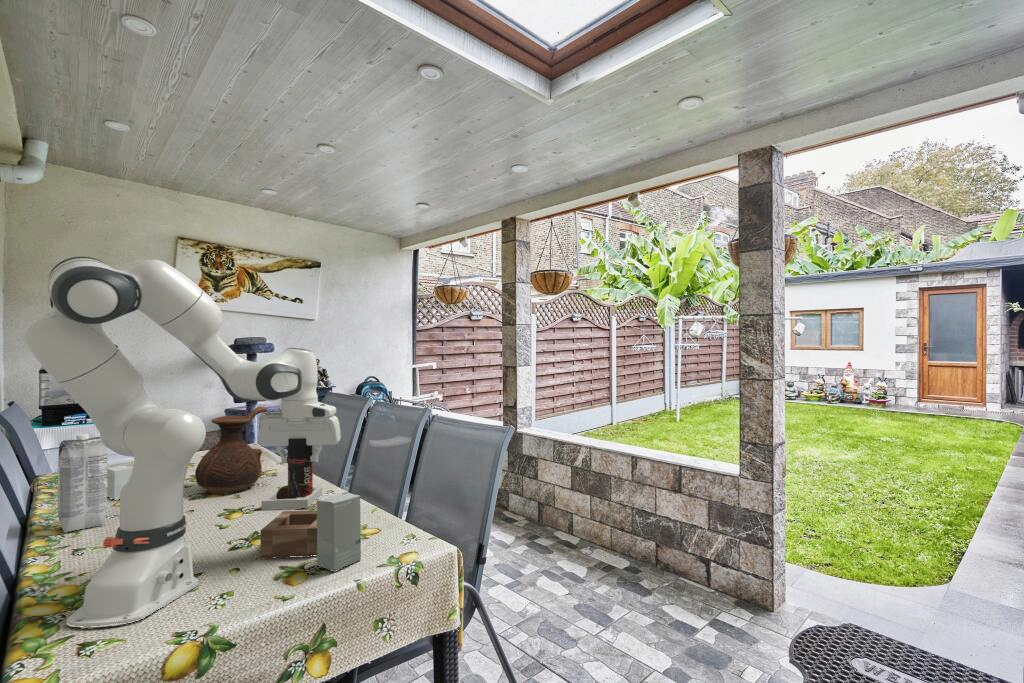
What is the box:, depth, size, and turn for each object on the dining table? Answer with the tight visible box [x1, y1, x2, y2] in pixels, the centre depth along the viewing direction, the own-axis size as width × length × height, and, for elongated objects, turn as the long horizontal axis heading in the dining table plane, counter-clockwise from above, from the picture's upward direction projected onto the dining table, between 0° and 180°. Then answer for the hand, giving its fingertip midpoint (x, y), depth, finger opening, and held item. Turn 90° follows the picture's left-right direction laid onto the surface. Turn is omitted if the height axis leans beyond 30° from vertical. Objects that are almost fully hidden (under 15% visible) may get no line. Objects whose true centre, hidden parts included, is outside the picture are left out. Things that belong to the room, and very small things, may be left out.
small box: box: [107, 464, 133, 501], centre depth 170 cm, size 8×6×10 cm
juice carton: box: [57, 434, 108, 533], centre depth 141 cm, size 9×10×27 cm
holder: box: [260, 509, 317, 559], centre depth 125 cm, size 14×14×7 cm
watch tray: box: [261, 486, 323, 511], centre depth 162 cm, size 14×14×3 cm
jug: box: [194, 405, 267, 495], centre depth 179 cm, size 22×22×30 cm
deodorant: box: [287, 438, 314, 498], centre depth 126 cm, size 6×6×15 cm
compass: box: [276, 484, 297, 499], centre depth 160 cm, size 8×8×7 cm
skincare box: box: [316, 492, 362, 572], centre depth 115 cm, size 8×7×16 cm
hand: (300, 462), depth 126 cm, fingers closed on deodorant, 6 cm apart
